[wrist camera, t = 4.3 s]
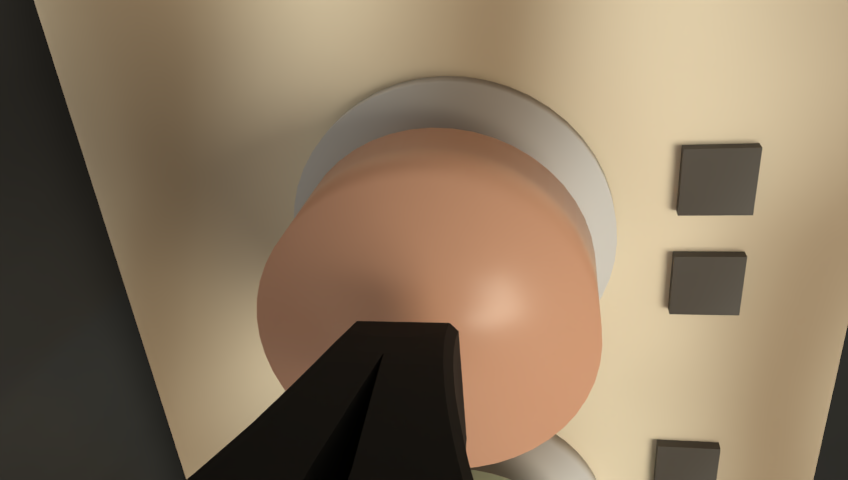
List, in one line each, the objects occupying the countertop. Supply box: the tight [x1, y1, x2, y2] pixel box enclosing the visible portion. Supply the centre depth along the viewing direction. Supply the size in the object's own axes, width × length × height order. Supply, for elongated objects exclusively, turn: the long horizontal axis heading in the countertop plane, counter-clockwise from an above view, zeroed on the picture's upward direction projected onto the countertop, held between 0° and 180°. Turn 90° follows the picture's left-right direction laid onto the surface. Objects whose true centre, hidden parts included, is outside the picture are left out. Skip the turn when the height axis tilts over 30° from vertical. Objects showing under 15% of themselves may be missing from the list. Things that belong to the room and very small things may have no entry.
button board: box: [34, 0, 848, 480], centre depth 17 cm, size 14×26×2 cm, turn 5°
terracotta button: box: [257, 128, 602, 468], centre depth 11 cm, size 5×5×2 cm
